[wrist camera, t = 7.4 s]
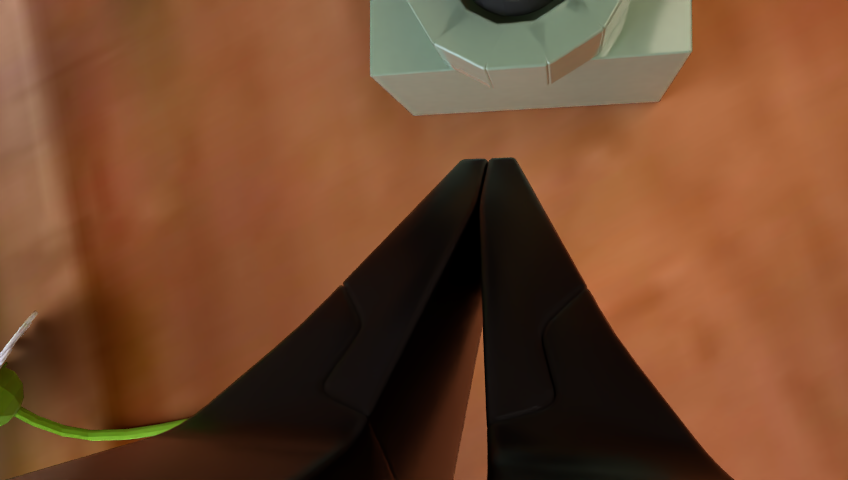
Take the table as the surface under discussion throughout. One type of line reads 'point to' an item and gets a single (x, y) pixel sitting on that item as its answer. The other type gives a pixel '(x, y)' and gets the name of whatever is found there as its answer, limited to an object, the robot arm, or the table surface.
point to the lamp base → (527, 53)
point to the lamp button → (512, 6)
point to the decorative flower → (4, 401)
